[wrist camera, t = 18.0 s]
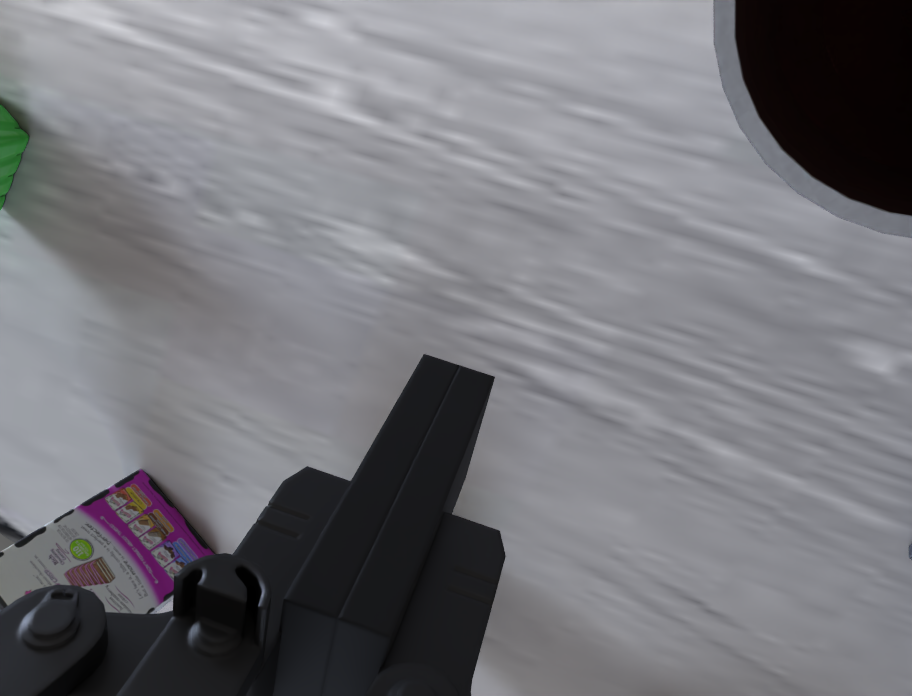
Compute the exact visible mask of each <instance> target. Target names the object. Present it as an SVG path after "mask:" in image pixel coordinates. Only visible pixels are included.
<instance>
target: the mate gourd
mask: <svg viewBox="0 0 912 696" xmlns="http://www.w3.org/2000/svg"><path fill="white" fill-rule="evenodd" d="M714 47H715V52H716V57H717V62H718V67H719V72H720V76H721V81H722V86H723V89H724V92H725V94H726V96H727V99H728V101H729V103H730V106H731V108H732V110H733V113H734V115H735V117H736V120H737V122H738V124H739V127H740V129H741V130H742V131H743V133H744V134H745V136H746V137H747V138H748V140H749V141H750V143H751V144H752V146H753V147H754V148H755V150H756V151H757V153H758V154H759V155H760V157H761V158H762V160H763V161H764V163H765V164H766V165H767V166H768V167H770V168H771V169H772V170H773V171H774V172H775V173H776V174H777V175H778V176H779V177H780V178H782V179H783V180H784V181H785V182H786V183H787V184H788V185H789V186H790V187H791V188H792V189H793V190H795V191H796V192H797V193H798V194H800V195H801V196H803V197H805V198H806V199H808V200H810V201H811V202H813V203H815V204H816V205H818V206H820V207H821V208H823V209H825V210H826V211H828V212H830V213H831V214H833V215H835V216H836V217H839V218H842V219H844V220H847V221H850V222H853V223H855V224H858V225H861V226H864V227H867V228H869V229H872V230H875V231H878V232H880V233H884V234H890V235H896V236H902V237H908V238H912V0H714Z"/></svg>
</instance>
